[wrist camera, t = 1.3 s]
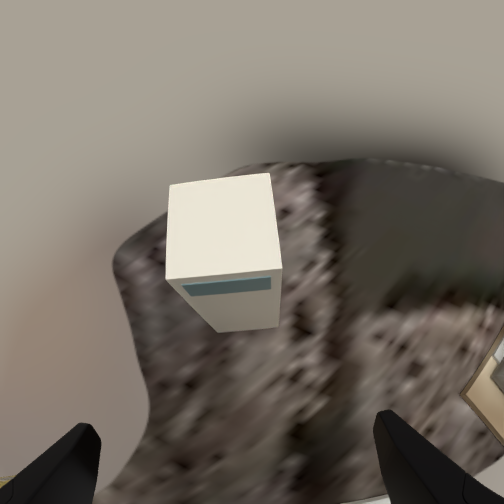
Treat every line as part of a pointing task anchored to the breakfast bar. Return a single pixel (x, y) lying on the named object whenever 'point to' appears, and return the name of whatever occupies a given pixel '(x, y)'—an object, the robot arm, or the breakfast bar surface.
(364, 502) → the external hard drive
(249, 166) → the breakfast bar surface
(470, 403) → the rail board
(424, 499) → the robot arm
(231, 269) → the module block
